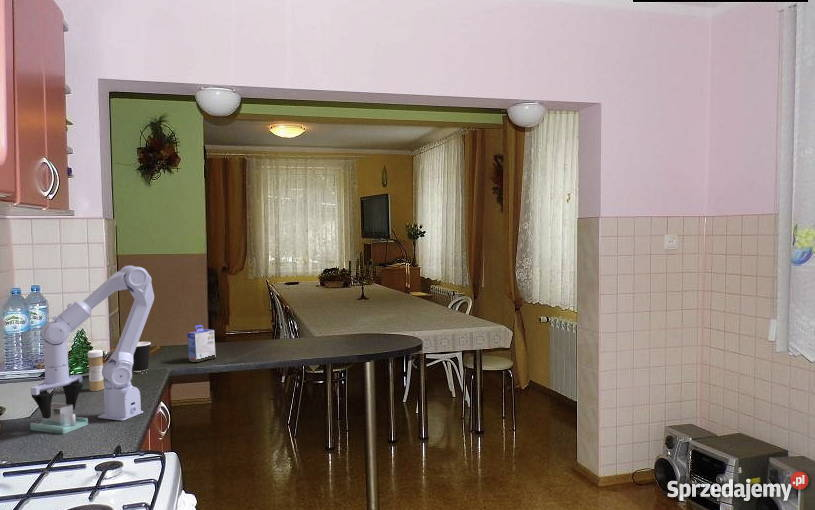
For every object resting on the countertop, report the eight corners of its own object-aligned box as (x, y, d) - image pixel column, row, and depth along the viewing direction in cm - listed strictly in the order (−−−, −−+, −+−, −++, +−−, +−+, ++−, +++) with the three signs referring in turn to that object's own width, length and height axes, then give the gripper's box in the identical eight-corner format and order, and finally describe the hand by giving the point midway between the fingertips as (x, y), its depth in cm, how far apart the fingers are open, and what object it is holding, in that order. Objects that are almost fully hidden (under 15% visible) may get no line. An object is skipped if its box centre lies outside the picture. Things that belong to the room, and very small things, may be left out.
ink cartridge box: (207, 357, 254) (206, 323, 253) (216, 358, 251) (215, 324, 250) (187, 362, 246) (186, 326, 245) (196, 363, 243) (195, 327, 242)
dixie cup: (125, 374, 227) (123, 345, 226) (136, 369, 235) (134, 341, 234) (145, 374, 226) (144, 345, 225) (155, 369, 234) (154, 341, 233)
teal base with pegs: (88, 424, 170) (87, 410, 169) (63, 434, 162) (62, 419, 162) (56, 420, 174) (55, 406, 173) (30, 429, 166) (29, 415, 166)
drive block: (73, 422, 169) (72, 404, 168) (61, 427, 165) (60, 408, 165) (55, 420, 171) (54, 402, 171) (42, 424, 167) (41, 406, 167)
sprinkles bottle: (92, 388, 208) (90, 349, 208) (106, 387, 209) (104, 349, 208) (87, 391, 204) (85, 352, 203) (101, 391, 204) (99, 351, 204)
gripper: (68, 358, 175) (70, 404, 176) (21, 370, 162) (24, 420, 162) (86, 360, 173) (89, 406, 173) (40, 372, 159) (43, 422, 160)
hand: (59, 413), depth 168 cm, fingers open, 7 cm apart
